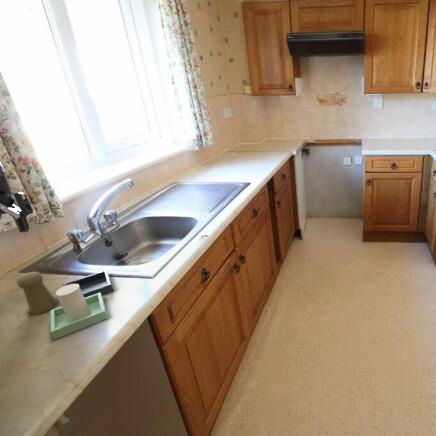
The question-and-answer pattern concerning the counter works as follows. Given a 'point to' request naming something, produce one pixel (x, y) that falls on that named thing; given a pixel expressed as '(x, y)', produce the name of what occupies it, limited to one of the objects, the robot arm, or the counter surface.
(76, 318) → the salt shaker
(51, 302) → the cork
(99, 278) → the dark tray
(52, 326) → the light tray
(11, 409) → the counter surface
